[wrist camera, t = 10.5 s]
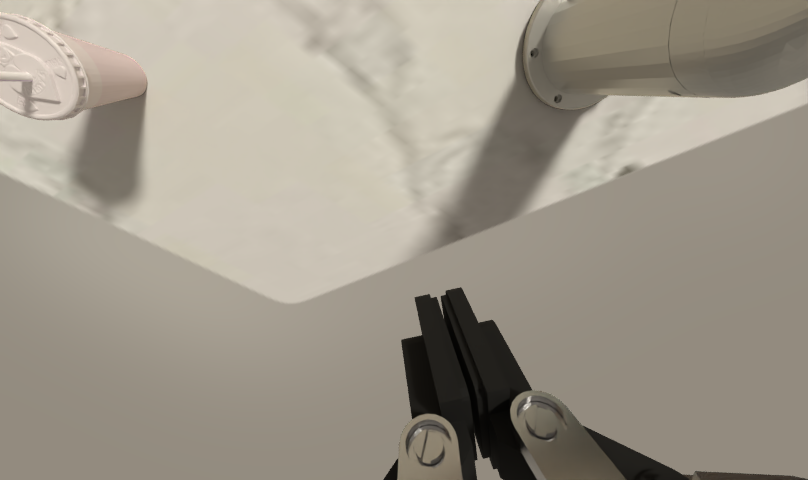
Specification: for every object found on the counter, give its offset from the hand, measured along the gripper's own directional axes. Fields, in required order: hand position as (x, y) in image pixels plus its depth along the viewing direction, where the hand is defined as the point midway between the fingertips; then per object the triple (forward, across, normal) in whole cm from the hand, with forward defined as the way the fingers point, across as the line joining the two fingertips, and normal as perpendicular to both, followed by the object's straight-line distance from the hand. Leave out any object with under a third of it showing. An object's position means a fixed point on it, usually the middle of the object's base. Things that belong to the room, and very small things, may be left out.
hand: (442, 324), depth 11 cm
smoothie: (+27, +23, -13) cm, 38 cm away
